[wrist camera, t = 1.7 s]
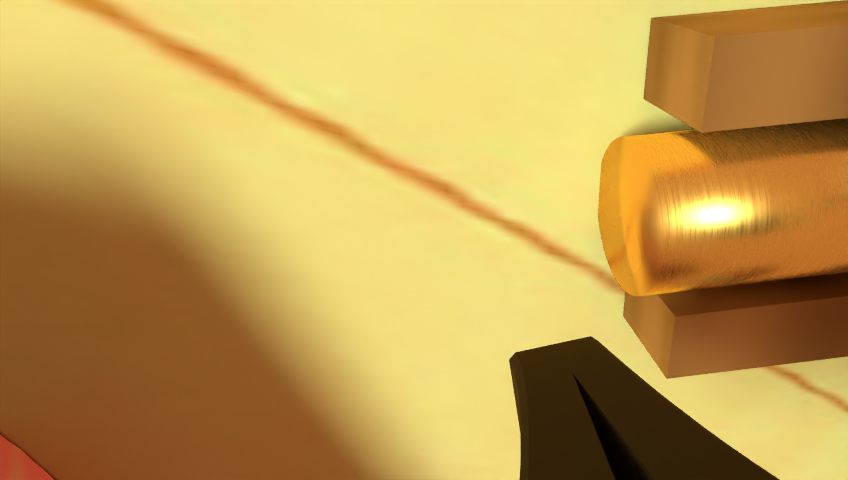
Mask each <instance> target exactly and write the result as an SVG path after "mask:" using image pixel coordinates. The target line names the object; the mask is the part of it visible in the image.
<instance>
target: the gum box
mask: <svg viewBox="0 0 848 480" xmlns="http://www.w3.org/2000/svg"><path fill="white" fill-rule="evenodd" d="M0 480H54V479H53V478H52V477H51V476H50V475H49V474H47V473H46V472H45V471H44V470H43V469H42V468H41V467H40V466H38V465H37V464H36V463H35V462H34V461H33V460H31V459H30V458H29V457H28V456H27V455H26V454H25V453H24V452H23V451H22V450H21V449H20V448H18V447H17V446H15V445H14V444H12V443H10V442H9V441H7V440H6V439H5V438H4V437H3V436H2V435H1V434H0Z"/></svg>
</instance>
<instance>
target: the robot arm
mask: <svg viewBox="0 0 848 480" xmlns="http://www.w3.org/2000/svg"><path fill="white" fill-rule="evenodd" d="M509 362H510V368H511V375H512V381H513V388H514V394H515V400H516V407H517V413H518V420H519V426H520V433H521V466H520V480H779V479H778V478H776V477H775V476H773V475H772V474H770V473H769V472H767V471H766V470H764V469H763V468H761V467H760V466H758V465H757V464H755V463H754V462H752V461H751V460H749V459H748V458H747V457H745V456H744V455H742V454H741V453H739V452H738V451H736V450H735V449H733V448H732V447H731V446H729V445H728V444H726V443H725V442H723V441H722V440H721V439H719V438H718V437H717V436H715V435H714V434H712V433H711V432H710V431H708V430H707V429H705V428H704V427H703V426H701V425H700V424H699V423H698V422H696V421H695V420H694V419H692V418H691V417H690V416H688V415H687V414H686V413H684V412H683V411H682V410H681V409H679V408H678V407H677V406H675V405H674V404H673V403H671V402H670V401H669V400H667V399H666V398H665V397H664V396H662V395H661V394H660V393H659V392H657V391H656V390H655V389H654V388H652V387H651V386H650V385H649V384H648V383H646V382H645V381H644V380H643V379H642V378H640V377H639V376H638V375H637V374H636V373H634V372H633V371H632V370H631V369H630V368H628V367H627V366H626V365H625V364H624V363H623V362H621V361H620V360H619V359H618V358H617V357H616V356H615V355H613V354H612V353H611V352H610V351H609V350H608V349H607V348H605V347H604V346H603V345H602V344H601V343H600V342H599V341H597V340H596V339H594V338H593V337H591V336H590V337H585V338H581V339H576V340H571V341H567V342H562V343H558V344H553V345H548V346H544V347H539V348H534V349H530V350H525V351H521V352H516V353H515V354H514V355H513V356H512V357H511V358H510V360H509Z"/></svg>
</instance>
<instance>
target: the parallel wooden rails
mask: <svg viewBox="0 0 848 480" xmlns="http://www.w3.org/2000/svg"><path fill="white" fill-rule="evenodd" d="M644 99H645V100H646V101H648V102H650V103H651V104H653V105H655V106H657V107H658V108H660V109H662V110H663V111H665V112H667V113H669V114H670V115H672V116H674V117H675V118H677V119H679V120H681V121H682V122H684V123H686V124H687V125H689V126H691V127H693V128H694V129H696V130H698V131H699V132H701V133H703V132H713V131H723V130H732V129H742V128H752V127H762V126H772V125H782V124H792V123H802V122H812V121H822V120H831V119H841V118H848V0H846V1H835V2H824V3H813V4H802V5H791V6H780V7H768V8H757V9H746V10H735V11H724V12H713V13H702V14H691V15H679V16H668V17H657V18H651V26H650V36H649V47H648V57H647V68H646V79H645V89H644ZM623 316H624V318H625V319H626V321H627V322H628V324H629V325H630V326H631V328H632V329H633V331H634V332H635V334H636V335H637V337H638V338H639V339H640V341H641V342H642V344H643V345H644V347H645V348H646V349H647V351H648V352H649V354H650V355H651V357H652V358H653V360H654V361H655V362H656V364H657V365H658V367H659V368H660V370H661V371H662V373H663V374H664V375H665V377H666V378H667V379H668V378H676V377H684V376H692V375H700V374H708V373H717V372H725V371H733V370H741V369H749V368H757V367H765V366H773V365H781V364H789V363H797V362H806V361H814V360H822V359H830V358H838V357H846V356H848V272H845V273H837V274H828V275H819V276H811V277H802V278H793V279H785V280H776V281H767V282H759V283H750V284H741V285H733V286H724V287H715V288H707V289H698V290H689V291H681V292H672V293H663V294H655V295H646V296H632V295H630V294H628V293H627V292H625V302H624V313H623Z"/></svg>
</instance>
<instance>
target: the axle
mask: <svg viewBox="0 0 848 480" xmlns="http://www.w3.org/2000/svg"><path fill="white" fill-rule="evenodd" d="M598 219H599V227H600V234H601V239H602V243H603V248H604V251H605V255H606V258H607V261H608V264H609V266H610V268H611V271H612V273H613V275H614V277H615V279H616V280H617V282H618V283H619V285H620V286H621V287H622V289H623V290H625V291H626V292H627V293H628V294H630V295H632V296H646V295H655V294H663V293H672V292H681V291H689V290H698V289H707V288H715V287H724V286H733V285H741V284H750V283H759V282H767V281H776V280H785V279H793V278H802V277H811V276H819V275H828V274H837V273H845V272H848V118H841V119H831V120H822V121H812V122H802V123H792V124H782V125H772V126H762V127H752V128H742V129H732V130H723V131H713V132H703V133H701V132H699V131H698V130H686V131H676V132H666V133H656V134H646V135H636V136H626V137H619V138H616V139H615V140H614V141H612V143H611V144H610V145H609V146H608V148H607V150H606V152H605V154H604V157H603V160H602V163H601V177H600V192H599V208H598Z"/></svg>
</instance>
